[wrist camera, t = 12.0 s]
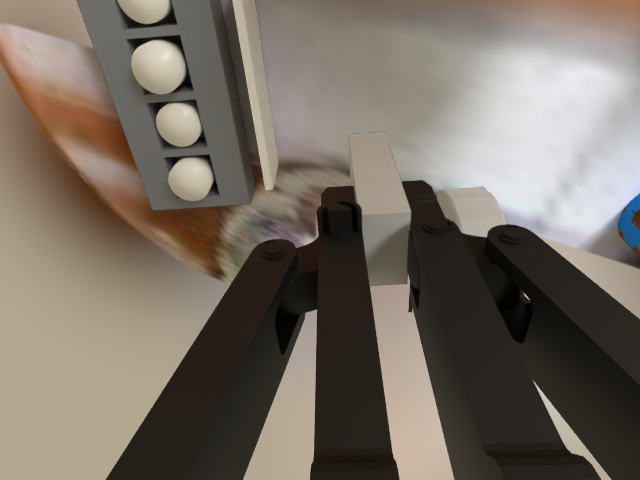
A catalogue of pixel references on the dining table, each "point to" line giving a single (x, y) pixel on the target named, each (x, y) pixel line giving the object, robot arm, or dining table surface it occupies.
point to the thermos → (631, 225)
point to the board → (176, 98)
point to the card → (257, 87)
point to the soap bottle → (471, 209)
